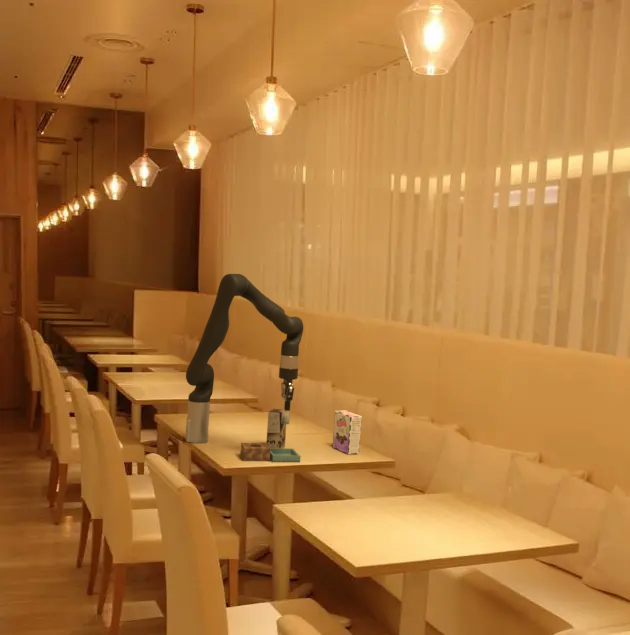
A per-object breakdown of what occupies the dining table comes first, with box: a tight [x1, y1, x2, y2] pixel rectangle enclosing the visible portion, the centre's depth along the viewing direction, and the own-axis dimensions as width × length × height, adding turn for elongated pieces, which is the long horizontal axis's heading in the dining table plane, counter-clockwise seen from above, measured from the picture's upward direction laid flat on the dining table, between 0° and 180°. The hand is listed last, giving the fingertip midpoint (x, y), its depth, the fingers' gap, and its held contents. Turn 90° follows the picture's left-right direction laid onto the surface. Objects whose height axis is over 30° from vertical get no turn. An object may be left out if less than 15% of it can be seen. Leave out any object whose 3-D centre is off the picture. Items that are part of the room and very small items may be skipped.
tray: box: [270, 448, 301, 463], centre depth 314 cm, size 11×13×2 cm
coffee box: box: [265, 408, 287, 449], centre depth 331 cm, size 9×6×16 cm
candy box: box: [332, 409, 363, 455], centre depth 335 cm, size 14×6×16 cm, turn 27°
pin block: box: [240, 442, 271, 462], centre depth 311 cm, size 10×10×5 cm
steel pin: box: [281, 398, 292, 425], centre depth 313 cm, size 3×3×10 cm
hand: (286, 409), depth 313 cm, fingers closed on steel pin, 3 cm apart
